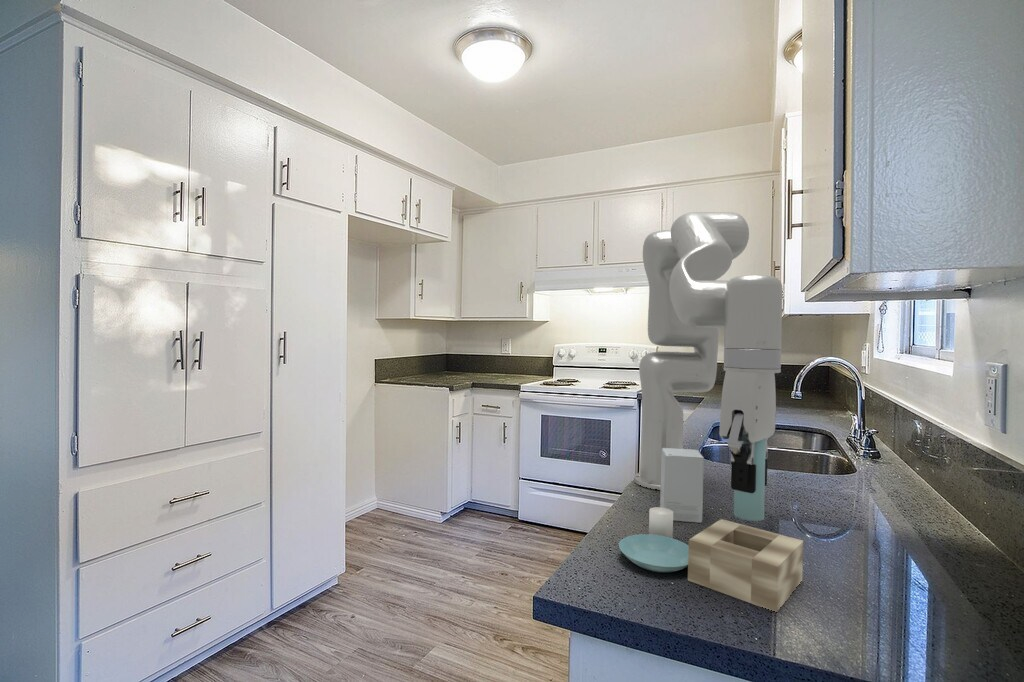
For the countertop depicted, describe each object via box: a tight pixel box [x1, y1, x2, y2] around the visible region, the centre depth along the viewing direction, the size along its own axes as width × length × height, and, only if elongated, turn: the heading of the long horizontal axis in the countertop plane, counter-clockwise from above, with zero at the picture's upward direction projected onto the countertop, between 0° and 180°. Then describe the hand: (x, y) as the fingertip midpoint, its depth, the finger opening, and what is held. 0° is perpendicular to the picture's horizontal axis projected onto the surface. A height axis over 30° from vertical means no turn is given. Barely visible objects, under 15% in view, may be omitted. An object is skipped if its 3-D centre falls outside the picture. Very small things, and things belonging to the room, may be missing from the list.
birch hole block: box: [687, 518, 804, 613], centre depth 75 cm, size 12×12×6 cm
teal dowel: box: [733, 436, 766, 522], centre depth 74 cm, size 4×4×14 cm
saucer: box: [618, 533, 689, 574], centre depth 81 cm, size 12×12×2 cm
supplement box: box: [659, 448, 705, 524], centre depth 102 cm, size 7×7×13 cm
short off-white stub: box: [648, 506, 674, 539], centre depth 90 cm, size 4×4×5 cm
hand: (749, 486), depth 74 cm, fingers closed on teal dowel, 4 cm apart
